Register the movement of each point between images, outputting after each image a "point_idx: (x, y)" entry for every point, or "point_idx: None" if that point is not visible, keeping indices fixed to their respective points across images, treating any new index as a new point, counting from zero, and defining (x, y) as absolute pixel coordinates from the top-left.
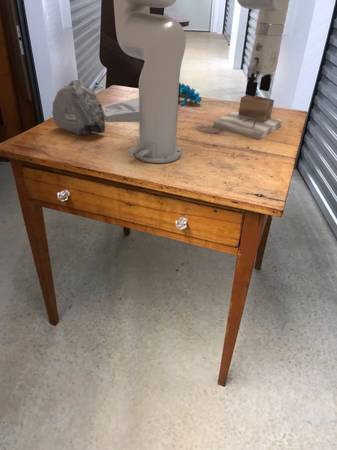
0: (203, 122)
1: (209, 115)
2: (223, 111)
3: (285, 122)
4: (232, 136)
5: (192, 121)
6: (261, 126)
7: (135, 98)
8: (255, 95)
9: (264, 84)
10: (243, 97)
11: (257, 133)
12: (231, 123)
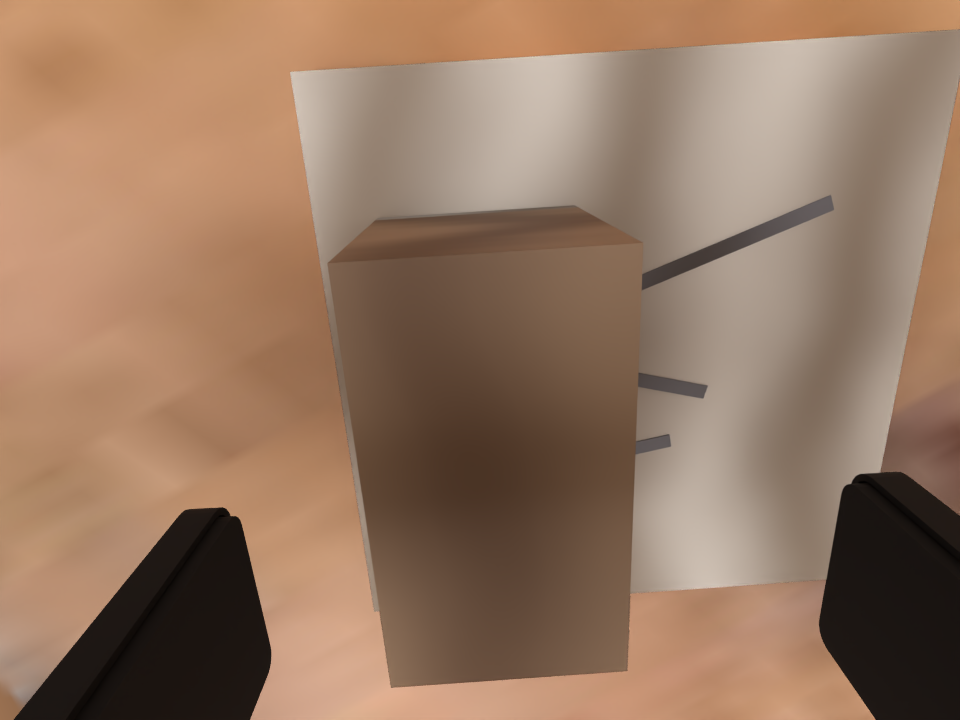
0: (765, 640)
1: (573, 699)
2: (387, 689)
3: (133, 112)
4: (954, 303)
5: (798, 697)
6: (718, 155)
7: None
8: (868, 474)
9: (207, 688)
10: (610, 648)
11: (952, 75)
12: (833, 435)
